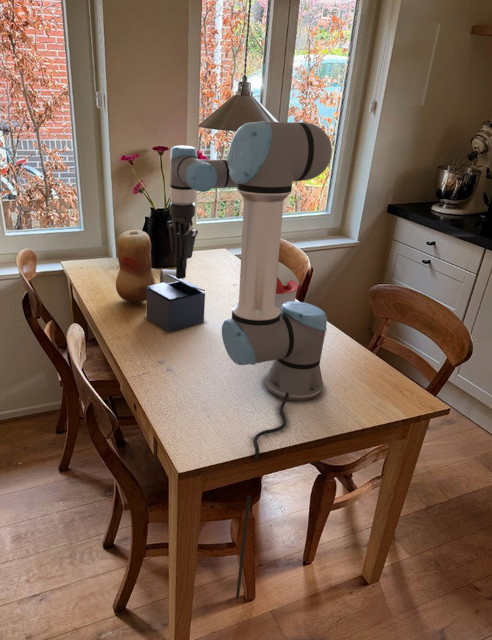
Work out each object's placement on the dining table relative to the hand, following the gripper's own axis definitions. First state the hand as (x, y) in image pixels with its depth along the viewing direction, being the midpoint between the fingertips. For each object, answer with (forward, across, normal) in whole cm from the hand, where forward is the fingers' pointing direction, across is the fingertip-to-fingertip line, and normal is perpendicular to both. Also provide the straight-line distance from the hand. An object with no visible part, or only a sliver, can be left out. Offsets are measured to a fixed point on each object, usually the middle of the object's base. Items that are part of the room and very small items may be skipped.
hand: (180, 277), depth 171 cm
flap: (+2, 0, -2) cm, 3 cm away
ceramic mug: (+15, +25, -14) cm, 32 cm away
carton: (+15, 0, +2) cm, 15 cm away
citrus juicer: (+15, -24, -18) cm, 33 cm away
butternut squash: (+15, +20, +4) cm, 25 cm away
